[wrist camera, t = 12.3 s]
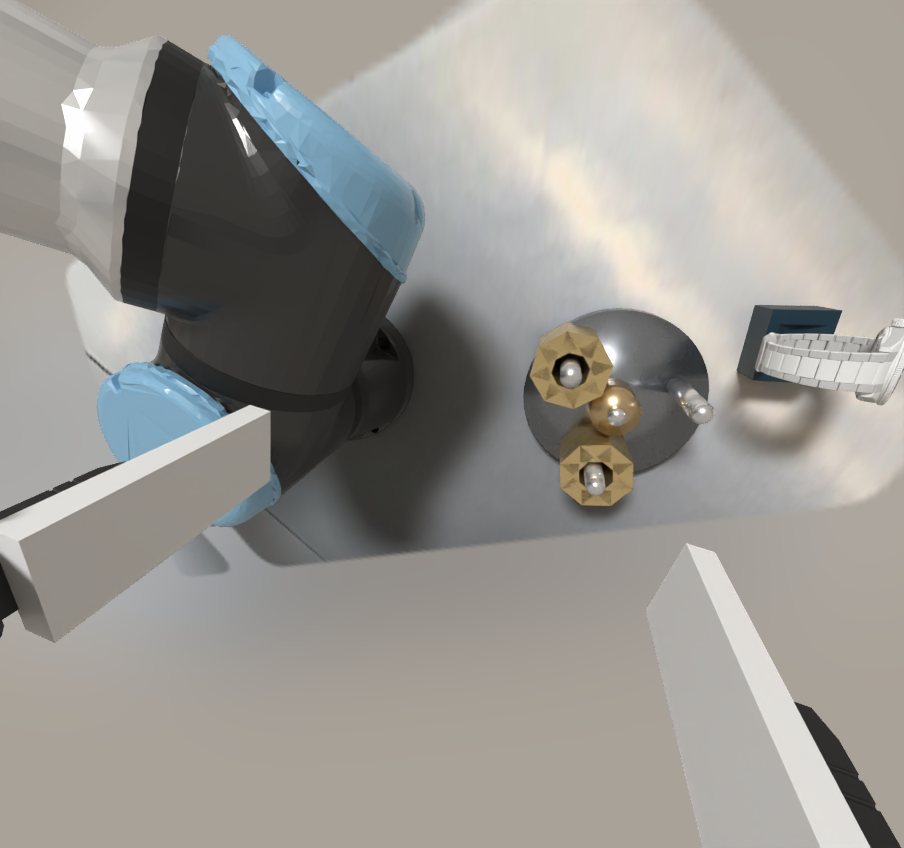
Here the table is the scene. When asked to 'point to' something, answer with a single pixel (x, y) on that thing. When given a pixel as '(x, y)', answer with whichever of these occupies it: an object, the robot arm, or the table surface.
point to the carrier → (629, 391)
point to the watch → (821, 352)
